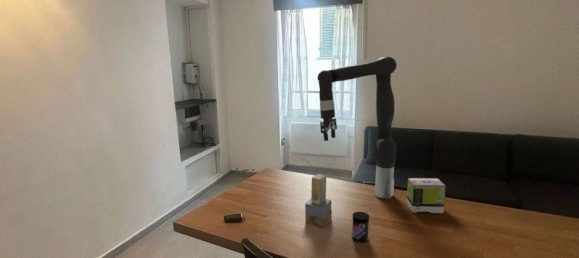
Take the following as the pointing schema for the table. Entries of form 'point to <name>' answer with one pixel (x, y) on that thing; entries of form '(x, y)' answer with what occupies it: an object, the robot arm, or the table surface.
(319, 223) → the walnut base block
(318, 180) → the skincare box
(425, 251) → the table surface
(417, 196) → the tea box
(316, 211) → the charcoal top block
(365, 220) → the supplement container
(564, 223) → the table surface
